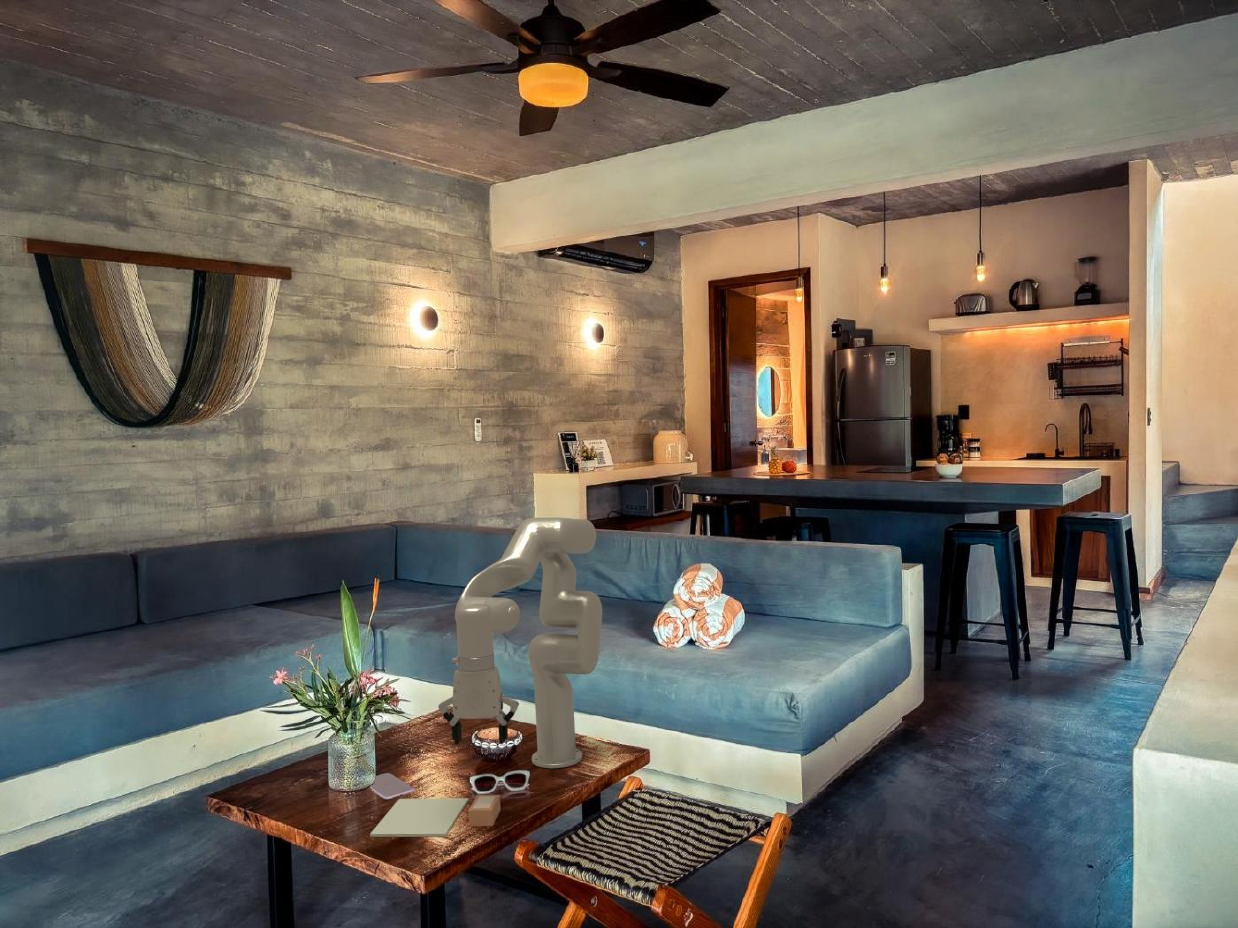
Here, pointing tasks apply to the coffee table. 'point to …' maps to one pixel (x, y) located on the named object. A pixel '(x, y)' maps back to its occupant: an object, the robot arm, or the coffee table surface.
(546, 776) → the coffee table surface
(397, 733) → the coffee table surface
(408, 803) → the play mat
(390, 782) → the mobile phone
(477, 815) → the block
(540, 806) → the coffee table surface
